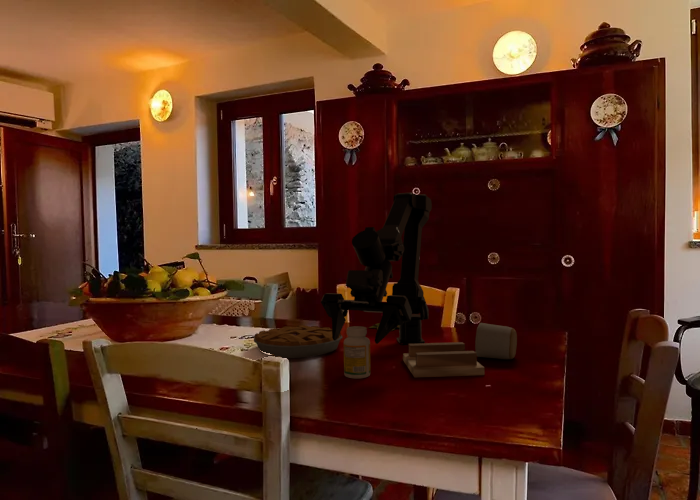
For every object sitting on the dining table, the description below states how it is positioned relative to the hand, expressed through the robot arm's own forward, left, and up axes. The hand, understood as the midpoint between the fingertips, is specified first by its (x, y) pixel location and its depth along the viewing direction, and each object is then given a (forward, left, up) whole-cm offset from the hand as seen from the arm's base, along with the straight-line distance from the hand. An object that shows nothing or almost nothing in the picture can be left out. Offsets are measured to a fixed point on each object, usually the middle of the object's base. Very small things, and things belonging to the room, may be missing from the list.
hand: (354, 340), depth 101 cm
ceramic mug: (-13, +33, -7) cm, 36 cm away
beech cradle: (-5, +18, -7) cm, 20 cm away
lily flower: (-53, +13, -8) cm, 55 cm away
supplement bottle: (-1, 0, -7) cm, 7 cm away
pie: (-27, -13, -8) cm, 31 cm away
